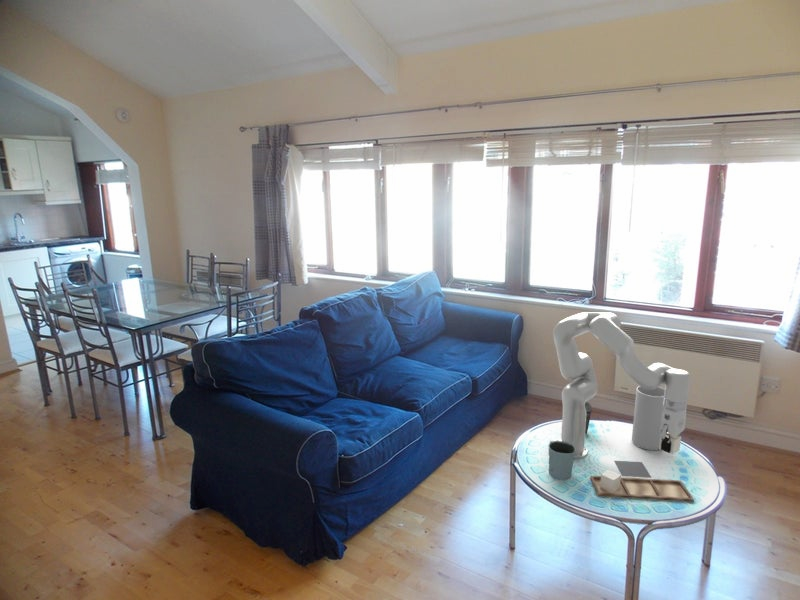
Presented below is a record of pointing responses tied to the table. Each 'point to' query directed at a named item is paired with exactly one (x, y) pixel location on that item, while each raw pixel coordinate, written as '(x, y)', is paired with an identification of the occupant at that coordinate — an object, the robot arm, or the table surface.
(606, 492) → the tray board
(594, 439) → the table surface
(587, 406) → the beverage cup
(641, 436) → the cylinder vase
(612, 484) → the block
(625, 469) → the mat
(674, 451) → the letter block
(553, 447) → the grey green pot
